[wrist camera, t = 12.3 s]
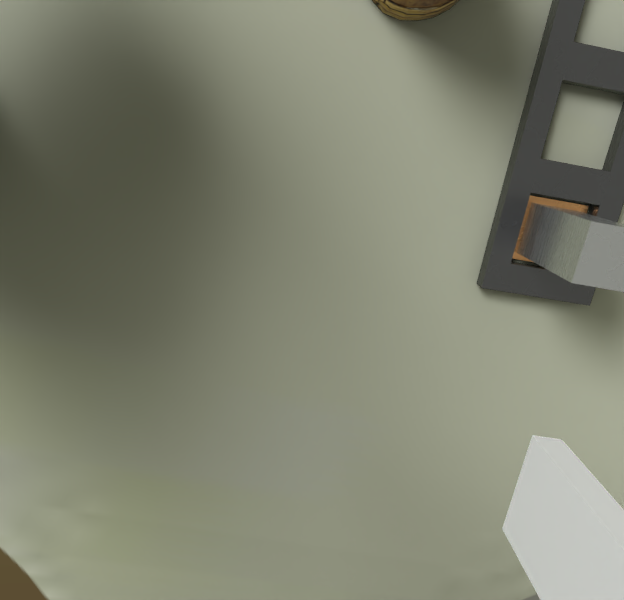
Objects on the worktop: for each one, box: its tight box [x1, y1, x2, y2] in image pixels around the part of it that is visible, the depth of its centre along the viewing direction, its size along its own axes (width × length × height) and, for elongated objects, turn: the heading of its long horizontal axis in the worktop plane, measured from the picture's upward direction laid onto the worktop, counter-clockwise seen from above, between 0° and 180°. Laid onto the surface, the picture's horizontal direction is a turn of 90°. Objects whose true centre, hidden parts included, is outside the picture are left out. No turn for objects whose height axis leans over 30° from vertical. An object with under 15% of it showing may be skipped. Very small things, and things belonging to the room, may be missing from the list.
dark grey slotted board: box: [477, 0, 624, 305], centre depth 42 cm, size 9×26×1 cm, turn 170°
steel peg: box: [517, 202, 624, 292], centre depth 41 cm, size 4×4×9 cm
